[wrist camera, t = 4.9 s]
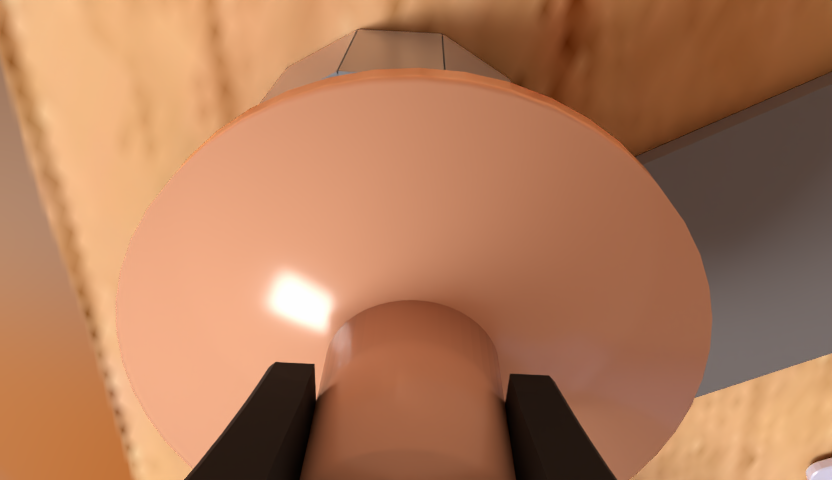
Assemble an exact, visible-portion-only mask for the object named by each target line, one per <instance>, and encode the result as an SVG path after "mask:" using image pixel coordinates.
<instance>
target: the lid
mask: <svg viewBox="0 0 832 480" xmlns="http://www.w3.org/2000/svg"><path fill="white" fill-rule="evenodd" d="M116 327H117V337H118V342H119V347H120V352H121V357H122V362H123V365H124V368H125V371H126V373H127V376H128V379H129V381H130V384H131V387H132V389H133V392H134V394H135V395H136V397H137V399H138V401H139V403H140V404H141V406H142V408H143V410H144V412H145V414H146V415H147V417H148V419H149V420H150V421H151V423H152V424H153V425H154V427H155V428H156V429H157V431H158V432H159V433H160V435H161V436H162V438H163V439H164V440H165V441H166V442H167V444H168V445H169V446H170V447H171V448H172V449H173V450H174V451H175V452H176V453H177V454H178V455H179V456H180V457H181V458H182V459H183V460H184V461H185V462H186V463H187V464H188V465H189V466H190V467H191V468H193V469H194V467H195V466H196V465H197V464H198V462H199V461H200V460H201V459H202V457H203V456H204V455H205V454H206V452H207V451H208V450H209V449H210V447H211V446H212V445H213V444H214V442H215V441H216V440H217V439H218V437H219V436H220V435H221V434H222V432H223V431H224V430H225V428H226V427H227V426H228V424H229V423H230V422H231V420H232V419H233V418H234V416H235V415H236V414H237V412H238V411H239V410H240V408H241V407H242V406H243V404H244V403H245V401H246V400H247V399H248V397H249V396H250V394H251V393H252V391H253V390H254V389H255V387H256V386H257V384H258V383H259V381H260V380H261V378H262V377H263V375H264V374H265V372H266V371H267V369H268V368H269V367H270V366H271V365H272V364H274V363H275V362H287V363H307V364H315V384H316V405H315V409H314V414H313V419H312V424H311V428H310V433H309V438H308V442H307V447H306V452H305V456H304V461H303V466H302V471H301V475H300V480H516V476H515V469H514V463H513V456H512V449H511V442H510V435H509V428H508V421H507V414H506V407H505V400H506V394H507V388H508V382H509V376H510V374H530V375H549V376H550V377H551V378H552V379H553V380H554V381H555V383H556V385H557V386H558V388H559V390H560V392H561V393H562V395H563V397H564V398H565V400H566V402H567V403H568V405H569V407H570V408H571V410H572V412H573V413H574V415H575V416H576V418H577V420H578V421H579V423H580V425H581V426H582V428H583V429H584V431H585V432H586V434H587V435H588V437H589V439H590V440H591V442H592V443H593V445H594V446H595V448H596V449H597V451H598V452H599V454H600V455H601V457H602V458H603V460H604V461H605V463H606V464H607V466H608V467H609V469H610V470H611V471H612V473H613V474H614V476H615V477H616V478H617V480H629V479H630V478H632V477H633V476H634V475H635V474H637V473H638V472H639V471H640V470H641V469H642V468H643V467H644V466H645V465H646V464H647V463H648V462H649V461H650V460H651V459H652V458H653V457H654V456H656V455H657V453H658V452H659V451H660V450H661V448H662V447H663V446H664V445H665V444H666V442H667V441H668V440H669V439H670V437H671V436H672V435H673V434H674V433H675V431H676V430H677V428H678V426H679V425H680V423H681V422H682V420H683V418H684V417H685V415H686V413H687V412H688V410H689V409H690V407H691V405H692V402H693V400H694V398H695V395H696V393H697V391H698V388H699V386H700V384H701V381H702V379H703V375H704V371H705V367H706V363H707V359H708V355H709V351H710V343H711V330H712V310H711V299H710V289H709V284H708V280H707V277H706V273H705V270H704V266H703V262H702V259H701V255H700V253H699V251H698V249H697V247H696V244H695V242H694V240H693V238H692V236H691V234H690V232H689V230H688V228H687V226H686V224H685V222H684V220H683V219H682V218H681V216H680V215H679V213H678V212H677V211H676V209H675V208H674V206H673V205H672V203H671V202H670V201H669V199H668V198H667V196H666V195H665V194H664V192H663V191H662V189H661V188H660V187H659V185H658V184H657V183H656V181H655V180H654V179H653V177H652V176H651V175H650V173H649V172H648V171H647V169H646V168H645V167H644V166H643V165H642V164H641V163H640V162H639V161H638V160H637V159H636V158H635V157H634V156H633V155H632V154H631V153H630V152H629V151H628V150H627V149H626V148H625V147H624V146H623V145H622V144H621V143H620V142H619V141H618V140H617V139H615V138H614V137H613V136H611V135H610V134H609V133H607V132H606V131H605V130H603V129H602V128H601V127H599V126H598V125H597V124H595V123H594V122H593V121H591V120H590V119H589V118H587V117H586V116H584V115H582V114H580V113H578V112H576V111H574V110H573V109H571V108H569V107H567V106H565V105H563V104H562V103H560V102H558V101H556V100H554V99H552V98H551V97H548V96H545V95H543V94H540V93H537V92H535V91H532V90H529V89H527V88H524V87H521V86H519V85H516V84H513V83H511V82H507V81H503V80H498V79H494V78H490V77H485V76H481V75H476V74H472V73H468V72H460V71H449V70H438V69H427V68H402V69H376V70H369V71H363V72H357V73H351V74H346V75H340V76H334V77H329V78H326V79H323V80H320V81H316V82H313V83H310V84H307V85H304V86H301V87H297V88H294V89H291V90H288V91H286V92H284V93H282V94H280V95H278V96H275V97H273V98H271V99H269V100H267V101H265V102H263V103H261V104H259V105H257V106H255V107H253V108H250V109H249V110H247V111H246V112H244V113H243V114H241V115H240V116H238V117H237V118H235V119H234V120H232V121H231V122H230V123H228V124H227V125H225V126H224V127H222V128H221V129H219V130H218V131H216V132H215V133H214V134H213V135H212V136H211V137H210V138H209V139H208V140H207V141H206V142H204V143H203V144H202V145H201V146H200V147H199V148H198V149H197V150H196V151H195V152H194V153H193V154H191V155H190V156H189V157H188V159H187V160H186V161H185V162H184V163H183V164H182V166H181V167H180V168H179V169H178V170H177V172H176V173H175V174H174V175H173V176H172V177H171V179H170V180H169V181H168V182H167V184H166V185H165V186H164V188H163V189H162V190H161V191H160V193H159V194H158V195H157V197H156V198H155V199H154V200H153V202H152V203H151V204H150V205H149V207H148V208H147V210H146V212H145V214H144V215H143V217H142V219H141V221H140V223H139V225H138V227H137V228H136V230H135V232H134V234H133V236H132V238H131V240H130V243H129V246H128V249H127V252H126V255H125V258H124V261H123V264H122V267H121V270H120V276H119V283H118V290H117V297H116Z"/></svg>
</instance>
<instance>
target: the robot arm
mask: <svg viewBox="0 0 832 480" xmlns="http://www.w3.org/2000/svg"><path fill="white" fill-rule="evenodd" d="M315 405H316V384H315V364H307V363H287V362H275V363H274V364H272V365H271V366H270V367H269V368H268V369H267V371H266V372H265V374H264V375H263V377H262V378H261V380H260V381H259V383H258V384H257V386H256V387H255V389H254V390H253V391H252V393H251V394H250V396H249V397H248V399H247V400H246V401H245V403H244V404H243V406H242V407H241V408H240V410H239V411H238V412H237V414H236V415H235V416H234V418H233V419H232V420H231V422H230V423H229V424H228V426H227V427H226V428H225V430H224V431H223V432H222V434H221V435H220V436H219V437H218V439H217V440H216V441H215V442H214V444H213V445H212V446H211V447H210V449H209V450H208V451H207V452H206V454H205V455H204V456H203V457H202V459H201V460H200V461H199V462H198V464H197V465H196V466H195V467H194V469H193V470H192V471H191V472H190V473H189V475H188V476H187V477H186V478H185V479H184V480H300V475H301V471H302V466H303V461H304V456H305V452H306V447H307V442H308V438H309V433H310V428H311V424H312V419H313V414H314V409H315ZM505 407H506V414H507V421H508V428H509V435H510V442H511V449H512V456H513V463H514V469H515V476H516V480H617V478H616V477H615V476H614V474H613V473H612V471H611V470H610V469H609V467H608V466H607V464H606V463H605V461H604V460H603V458H602V457H601V455H600V454H599V452H598V451H597V449H596V448H595V446H594V445H593V443H592V442H591V440H590V439H589V437H588V435H587V434H586V432H585V431H584V429H583V428H582V426H581V425H580V423H579V421H578V420H577V418H576V416H575V415H574V413H573V412H572V410H571V408H570V407H569V405H568V403H567V402H566V400H565V398H564V397H563V395H562V393H561V392H560V390H559V388H558V386H557V385H556V383H555V381H554V380H553V379H552V378H551V377H550V376H549V375H530V374H510V376H509V382H508V388H507V394H506V400H505ZM806 476H807V480H832V457H831V458H828V459H825V460H821V461H818V462H815V463H813V464H811V465H810V466H809V467H808V468H807V470H806Z"/></svg>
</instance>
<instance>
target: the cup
mask: <svg viewBox="0 0 832 480" xmlns="http://www.w3.org/2000/svg"><path fill="white" fill-rule="evenodd" d="M402 68H427V69H438V70H449V71H460V72H468V73H472V74H476V75H481V76H485V77H490V78H494V79H498V80H503V81H507V82H511V80H510V79H509V78H507V77H506V76H504V75H503V74H501V73H500V72H498V71H497V70H495V69H494V68H492V67H491V66H490V65H488V64H487V63H485V62H484V61H482V60H481V59H479V58H478V57H476V56H475V55H473V54H472V53H470V52H469V51H467V50H466V49H464V48H463V47H461V46H460V45H458V44H457V43H455V42H454V41H452V40H451V39H450V38H448V37H447V36H445V35H444V34H443V35H442V36H441V33H422V32H403V31H384V30H365V29H358V31H357V30H355V31H353V32H351V33H350V34H348V35H346V36H344V37H342V38H340V39H339V40H337V41H335V42H333V43H331V44H329V45H328V46H326V47H324V48H322V49H320V50H318V51H317V52H315V53H313V54H311V55H309V56H307V57H306V58H304V59H302V60H300V61H298V62H296V63H295V64H293V65H291V66H289V67H287V69H286V70H285V71H284V72H283V74H282V75H281V76H280V77H279V79H278V80H277V81H276V83H275V84H274V85H273V87H272V88H271V89H270V90H269V92H268V93H267V94H266V96H265V97H264V98H263V100H262V101H261V102H260V103H259V104H261V103H263V102H265V101H267V100H269V99H271V98H273V97H275V96H278V95H280V94H282V93H284V92H286V91H288V90H291V89H294V88H297V87H301V86H304V85H307V84H310V83H313V82H316V81H320V80H323V79H326V78H329V77H334V76H340V75H346V74H351V73H357V72H363V71H369V70H376V69H402ZM511 83H512V82H511Z"/></svg>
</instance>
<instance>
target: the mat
mask: <svg viewBox="0 0 832 480" xmlns="http://www.w3.org/2000/svg"><path fill="white" fill-rule="evenodd" d="M635 158H636V159H637V160H638V161H639V162H640V163H641V164H642V165H643V166H644V167H645V168H646V169H647V171H648V172H649V173H650V175H651V176H652V177H653V179H654V180H655V181H656V183H657V184H658V185H659V187H660V188H661V189H662V191H663V192H664V194H665V195H666V196H667V198H668V199H669V201H670V202H671V203H672V205H673V206H674V208H675V209H676V211H677V212H678V213H679V215H680V216H681V218H682V219H683V220H684V222H685V224H686V226H687V228H688V230H689V232H690V234H691V236H692V238H693V240H694V242H695V244H696V247H697V249H698V251H699V253H700V255H701V259H702V262H703V266H704V270H705V273H706V277H707V280H708V284H709V289H710V299H711V310H712V330H711V343H710V351H709V355H708V359H707V363H706V367H705V371H704V375H703V379H702V381H701V384H700V386H699V388H698V391H697V393H696V395H695V398H696V397H699V396H702V395H705V394H708V393H711V392H714V391H717V390H720V389H723V388H726V387H730V386H733V385H736V384H739V383H742V382H745V381H748V380H751V379H754V378H757V377H760V376H763V375H766V374H769V373H772V372H775V371H778V370H782V369H785V368H788V367H791V366H794V365H797V364H800V363H803V362H806V361H809V360H812V359H815V358H818V357H821V356H824V355H827V354H830V353H832V72H830V73H828V74H826V75H823V76H821V77H819V78H816V79H814V80H812V81H809V82H807V83H805V84H802V85H800V86H798V87H796V88H793V89H791V90H789V91H786V92H784V93H782V94H779V95H777V96H775V97H772V98H770V99H768V100H765V101H763V102H761V103H759V104H756V105H754V106H752V107H749V108H747V109H745V110H742V111H740V112H738V113H735V114H733V115H731V116H728V117H726V118H724V119H722V120H719V121H717V122H715V123H712V124H710V125H708V126H705V127H703V128H701V129H698V130H696V131H694V132H691V133H689V134H687V135H684V136H682V137H680V138H678V139H675V140H673V141H671V142H668V143H666V144H664V145H661V146H659V147H657V148H654V149H652V150H650V151H647V152H645V153H643V154H641V155H638V156H636V157H635Z"/></svg>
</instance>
